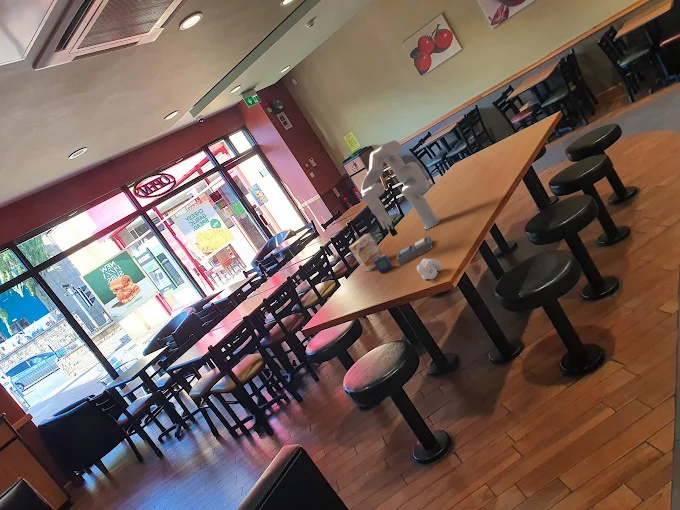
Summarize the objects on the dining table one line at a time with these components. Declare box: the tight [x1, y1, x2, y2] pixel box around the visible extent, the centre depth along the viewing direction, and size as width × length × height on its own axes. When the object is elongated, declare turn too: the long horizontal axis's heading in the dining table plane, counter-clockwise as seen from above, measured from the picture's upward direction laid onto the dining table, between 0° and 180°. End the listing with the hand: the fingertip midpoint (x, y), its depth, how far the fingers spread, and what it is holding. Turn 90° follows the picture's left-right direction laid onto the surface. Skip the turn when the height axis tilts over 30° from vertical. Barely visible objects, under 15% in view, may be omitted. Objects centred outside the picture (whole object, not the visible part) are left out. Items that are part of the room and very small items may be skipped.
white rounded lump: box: [416, 257, 442, 281], centre depth 250 cm, size 11×12×9 cm
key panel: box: [396, 235, 433, 266], centre depth 300 cm, size 12×21×4 cm, turn 76°
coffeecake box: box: [348, 233, 384, 272], centre depth 330 cm, size 15×7×20 cm, turn 117°
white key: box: [414, 237, 427, 248], centre depth 298 cm, size 6×6×3 cm
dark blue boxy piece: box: [373, 254, 394, 275], centre depth 305 cm, size 9×3×11 cm, turn 74°
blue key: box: [399, 245, 412, 257], centre depth 302 cm, size 6×6×3 cm
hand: (395, 234), depth 300 cm, fingers closed
